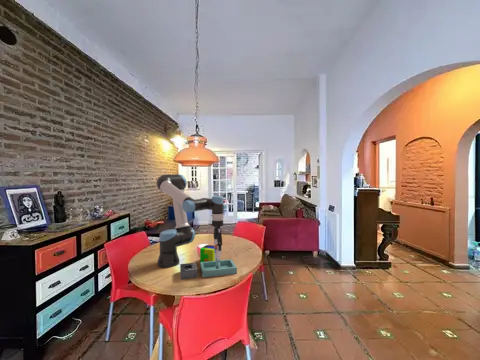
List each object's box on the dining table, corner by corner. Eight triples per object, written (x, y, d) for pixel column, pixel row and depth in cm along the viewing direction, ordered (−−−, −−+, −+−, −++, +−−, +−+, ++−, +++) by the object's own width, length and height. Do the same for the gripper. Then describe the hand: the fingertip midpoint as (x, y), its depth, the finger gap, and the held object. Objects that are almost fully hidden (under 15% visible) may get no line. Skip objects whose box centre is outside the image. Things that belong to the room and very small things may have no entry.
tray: (200, 267, 159) (200, 262, 159) (231, 264, 165) (231, 259, 165) (202, 277, 144) (202, 271, 144) (236, 273, 150) (236, 267, 150)
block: (180, 271, 153) (180, 264, 153) (195, 270, 156) (195, 262, 156) (180, 279, 142) (180, 271, 142) (197, 277, 144) (197, 269, 144)
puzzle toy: (218, 259, 175) (218, 246, 175) (212, 264, 166) (212, 250, 166) (206, 258, 179) (206, 244, 178) (200, 262, 169) (200, 248, 169)
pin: (213, 268, 156) (213, 244, 156) (220, 267, 157) (220, 243, 157) (215, 271, 152) (214, 246, 152) (222, 270, 153) (221, 245, 153)
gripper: (209, 216, 165) (209, 246, 165) (214, 224, 141) (215, 259, 141) (219, 216, 167) (220, 245, 167) (227, 223, 143) (227, 257, 143)
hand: (217, 252), depth 154 cm, fingers open, 13 cm apart
